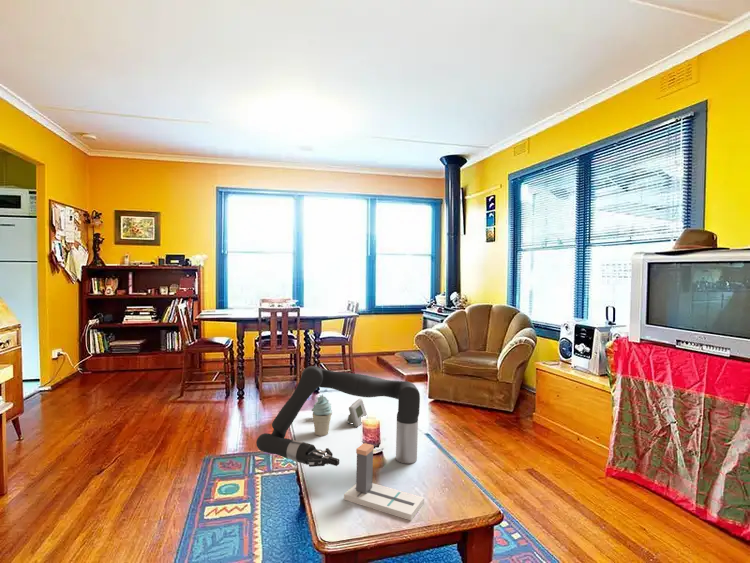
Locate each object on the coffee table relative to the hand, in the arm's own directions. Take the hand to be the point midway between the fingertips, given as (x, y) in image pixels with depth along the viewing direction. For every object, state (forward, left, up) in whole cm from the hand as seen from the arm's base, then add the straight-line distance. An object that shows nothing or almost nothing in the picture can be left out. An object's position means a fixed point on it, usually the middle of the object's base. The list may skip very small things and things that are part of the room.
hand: (338, 462), depth 162 cm
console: (0, +19, -10) cm, 22 cm away
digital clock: (-63, -26, -10) cm, 69 cm away
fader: (0, +11, -7) cm, 13 cm away
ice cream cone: (-40, -35, -10) cm, 54 cm away
